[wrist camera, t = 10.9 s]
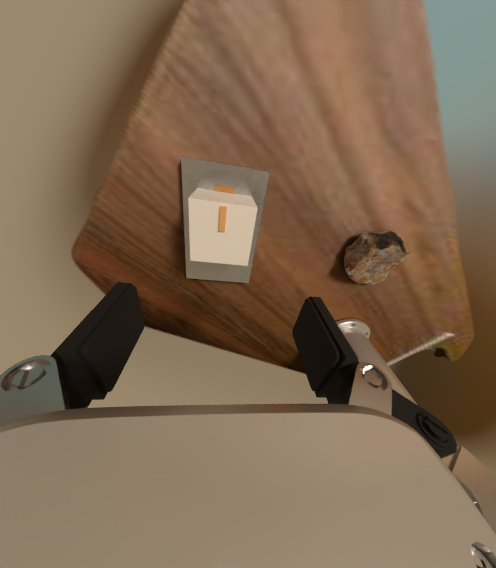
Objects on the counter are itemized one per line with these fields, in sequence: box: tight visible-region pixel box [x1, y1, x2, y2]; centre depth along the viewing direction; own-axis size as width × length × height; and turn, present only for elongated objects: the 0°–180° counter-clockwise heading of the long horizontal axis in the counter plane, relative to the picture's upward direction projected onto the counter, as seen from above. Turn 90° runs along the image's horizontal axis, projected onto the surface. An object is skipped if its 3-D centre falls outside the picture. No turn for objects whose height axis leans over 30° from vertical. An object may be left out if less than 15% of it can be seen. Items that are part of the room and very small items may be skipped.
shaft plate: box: [181, 156, 269, 283], centre depth 25 cm, size 16×10×4 cm, turn 171°
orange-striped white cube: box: [188, 188, 258, 266], centre depth 22 cm, size 7×7×6 cm
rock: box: [344, 231, 409, 285], centre depth 29 cm, size 9×6×10 cm
